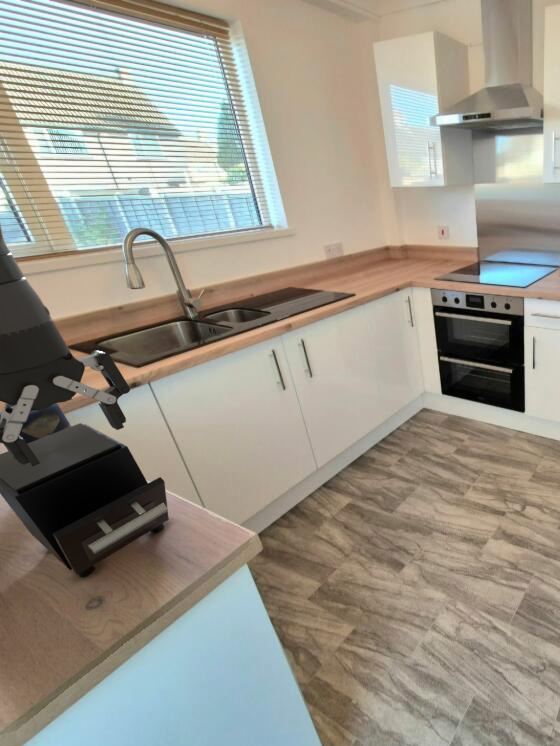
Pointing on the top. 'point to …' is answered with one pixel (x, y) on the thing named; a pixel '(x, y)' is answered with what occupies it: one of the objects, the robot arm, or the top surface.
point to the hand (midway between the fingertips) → (78, 444)
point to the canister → (43, 423)
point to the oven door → (113, 526)
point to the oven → (68, 482)
